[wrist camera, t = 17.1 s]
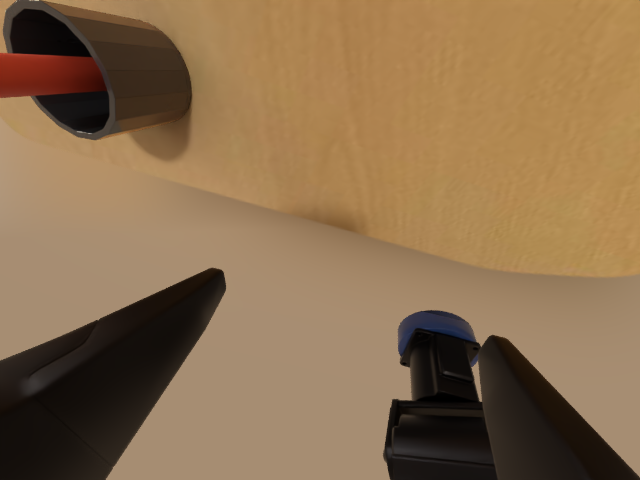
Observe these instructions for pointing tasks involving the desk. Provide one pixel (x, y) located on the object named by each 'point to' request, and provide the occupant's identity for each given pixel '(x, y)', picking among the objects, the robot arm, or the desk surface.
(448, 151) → the desk surface
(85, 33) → the tin
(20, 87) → the straw
